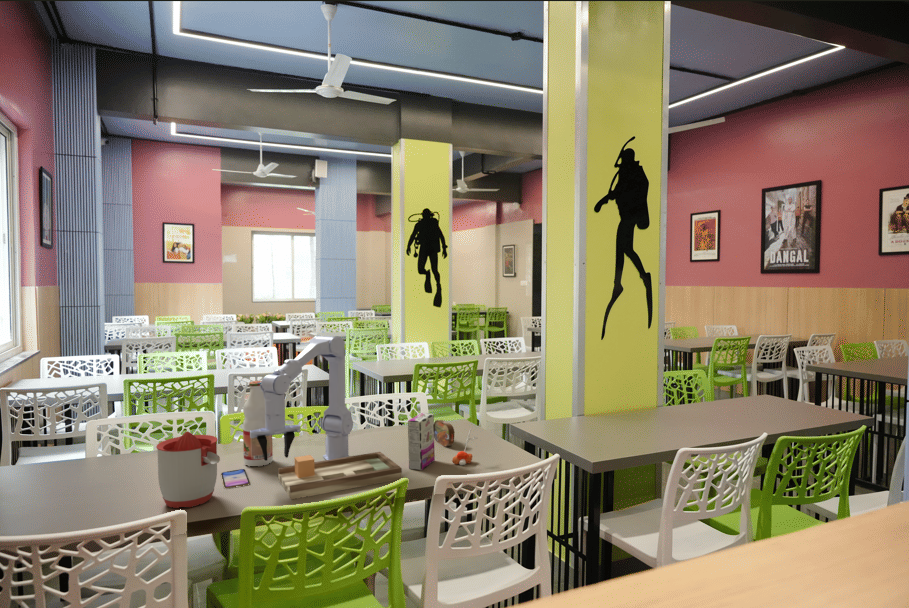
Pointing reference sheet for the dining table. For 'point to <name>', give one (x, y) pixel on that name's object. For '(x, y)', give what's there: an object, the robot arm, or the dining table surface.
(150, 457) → the dining table surface
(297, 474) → the block
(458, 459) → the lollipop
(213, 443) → the citrus juicer
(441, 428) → the tin
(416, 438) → the candy bar box
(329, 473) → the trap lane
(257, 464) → the fruit juice
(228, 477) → the smartphone
